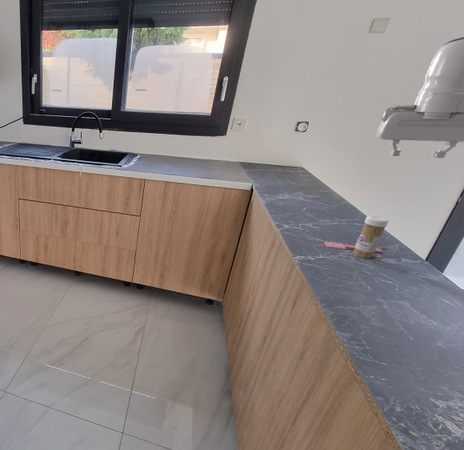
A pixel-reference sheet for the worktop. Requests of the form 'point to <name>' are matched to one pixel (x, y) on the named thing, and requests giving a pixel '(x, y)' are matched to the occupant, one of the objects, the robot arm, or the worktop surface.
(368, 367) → the worktop surface
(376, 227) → the sprinkles bottle
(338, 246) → the spatula
